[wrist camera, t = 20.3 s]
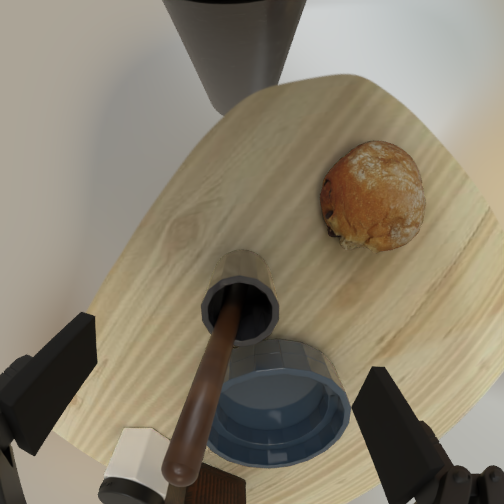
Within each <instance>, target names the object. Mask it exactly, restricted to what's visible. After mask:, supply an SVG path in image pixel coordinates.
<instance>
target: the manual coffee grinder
mask: <svg viewBox="0 0 504 504" xmlns="http://www.w3.org/2000/svg"><path fill="white" fill-rule="evenodd" d="M165 504H246V482H245V480H243V479H241V478H239V477H237V476H234V475H232V474H229V473H227V472H224V471H222V470H219V469H217V468H214V467H212V466H209V465H206V464H204V463H201V467H200V471H199V474H198V477H197V479H196V481H195V482H194V483H193V484H191V485H189V486H186V487H177V486H174V485H172V484H170V483H169V484H168V489H167V494H166V497H165Z"/></svg>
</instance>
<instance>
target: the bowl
mask: <svg viewBox="0 0 504 504" xmlns="http://www.w3.org/2000/svg"><path fill="white" fill-rule="evenodd" d="M350 412H351V406H350V403H349V400H348V397H347V395H346V392H345V390H344V387H343V385H342V383H341V381H340V378H339V376H338V374H337V372H336V369H335V367H334V365H333V363H332V362H331V361H330V360H329V359H328V358H327V357H326V356H325V355H324V354H323V353H322V352H321V351H319V350H317V349H315V348H313V347H311V346H309V345H306V344H304V343H302V342H296V341H289V340H283V339H271V340H262V341H260V342H259V343H257V344H253V345H248V346H243V347H237V348H235V349H232V352H231V356H230V360H229V364H228V367H227V371H226V375H225V379H224V382H223V386H222V390H221V393H220V397H219V401H218V405H217V408H216V412H215V416H214V419H213V423H212V427H211V430H210V434H209V438H208V441H207V446H208V447H209V449H210V450H211V451H212V452H214V453H215V454H217V455H219V456H220V457H222V458H224V459H226V460H227V461H230V462H233V463H236V464H240V465H243V466H248V467H256V468H268V469H269V468H279V467H288V466H292V465H295V464H298V463H302V462H305V461H308V460H310V459H312V458H314V457H316V456H318V455H319V454H321V453H323V452H325V451H326V450H328V449H329V448H330V447H331V446H332V445H333V444H334V443H335V442H336V441H338V440H339V439H340V438H341V436H342V434H343V433H344V431H345V429H346V427H347V426H348V424H349V419H350Z"/></svg>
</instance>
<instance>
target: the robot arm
mask: <svg viewBox="0 0 504 504" xmlns="http://www.w3.org/2000/svg"><path fill="white" fill-rule="evenodd" d="M96 365H97V349H96V330H95V316H93V315H90V314H87V313H84V312H81V313H79V314H78V315H77V316H76V317H75V318H74V319H73V320H72V321H71V322H70V323H68V324H67V325H66V326H65V327H64V328H63V329H62V330H61V331H60V332H59V333H58V334H57V335H56V336H55V337H54V338H52V339H51V341H49V342H48V343H47V344H46V345H45V346H44V347H43V348H42V349H41V350H40V351H39V352H38V353H37V354H36V355H35V356H34V357H31V356H29V355H25V356H22V357H20V358H18V359H16V360H15V361H14V362H13V363H12V364H11V365H10V367H8V368H7V369H6V370H5V371H4V373H2V374H1V375H0V504H27V503H26V500H25V497H24V494H23V490H22V487H21V483H20V480H19V476H18V472H17V468H16V463H15V459H14V455H13V449H12V446H11V442H12V441H13V439H15V441H16V442H17V445H18V446H19V448H21V449H23V450H24V451H26V452H28V453H29V454H31V455H33V456H35V455H36V454H37V452H38V450H39V449H40V447H41V446H42V444H43V442H44V441H45V439H46V438H47V436H48V435H49V433H50V432H51V430H52V429H53V427H54V425H55V424H56V422H57V421H58V419H59V418H60V416H61V415H62V413H63V412H64V410H65V409H66V407H67V406H68V404H69V403H70V402H71V400H72V399H73V397H74V396H75V394H76V393H77V391H78V390H79V389H80V387H81V386H82V384H83V383H84V381H85V380H86V379H87V377H88V376H89V374H90V373H91V372H92V370H93V369H94V367H95V366H96ZM351 408H352V410H353V413H354V415H355V418H356V420H357V423H358V425H359V427H360V430H361V432H362V435H363V437H364V440H365V443H366V445H367V448H368V450H369V453H370V455H371V458H372V460H373V463H374V466H375V468H376V471H377V473H378V476H379V479H380V481H381V484H382V487H383V489H384V492H385V495H386V497H387V500H388V503H389V504H406V503H407V502H409V501H410V500H411V499H412V498H413V497H414V498H415V500H416V502H415V503H414V504H504V472H503V471H502V469H501V468H499V467H497V466H494V465H493V466H489V467H487V468H486V469H485V470H484V471H483V472H482V473H481V474H471V473H470V472H469V471H468V470H467V469H466V468H464V467H463V466H458V465H456V466H454V465H453V464H452V462H451V460H450V459H449V457H448V455H447V454H446V452H445V450H444V449H443V447H442V445H441V444H439V440H438V439H437V437H435V434H434V432H433V431H432V429H431V428H430V427H429V426H428V425H427V424H426V423H425V422H424V421H419V420H418V419H417V417H416V415H415V414H414V412H413V411H412V409H411V407H410V406H409V404H408V403H407V401H406V399H405V398H404V396H403V395H402V393H401V392H400V390H399V388H398V387H397V385H396V384H395V382H394V381H393V379H392V378H391V376H390V374H389V373H388V371H387V370H386V368H385V367H375V366H372V367H371V369H370V371H369V373H368V375H367V378H366V380H365V382H364V384H363V386H362V388H361V390H360V392H359V394H358V396H357V397H356V399H355V401H354V403H353V405H352V407H351Z"/></svg>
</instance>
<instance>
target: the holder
mask: <svg viewBox="0 0 504 504" xmlns="http://www.w3.org/2000/svg"><path fill="white" fill-rule="evenodd" d="M239 282H240V283H245V284H249V288H248V292H247V296H246V300H245V303H244V307H243V311H242V315H241V319H240V322H239V326H238V330H237V334H236V337H235V341H234V346H239V347H243V346H248V345H253V344H257V343H259V342H260V341H262V340H263V339H265V338H266V337H267V336H269V335H270V334H271V333H272V331H273V330H274V328H275V326H276V324H277V322H278V320H279V302H278V298H277V294H276V290H275V287H274V283H273V279H272V275H271V272H270V270H269V267H268V265H267V263H266V262H265V260H264V259H263V258H262V257H261V256H259V255H258V254H256V253H254V252H252V251H248V250H235V251H232V252H229V253H227V254H226V255H224V256H223V257H222V258H221V259H220V260H219V261H218V262H217V264H216V266H215V269H214V271H213V273H212V276H211V279H210V281H209V284H208V287H207V290H206V292H205V295H204V298H203V301H202V304H201V312H202V321H203V323H204V325H205V326H206V328H207V329H208V331H209V333H210V334H212V331H213V329H214V326H215V324H216V321H217V319H218V316H219V313H220V311H221V308H222V306H223V303H224V301H225V298H226V295H227V293H228V290H229V288H230V285H231V284H234V283H239Z"/></svg>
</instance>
